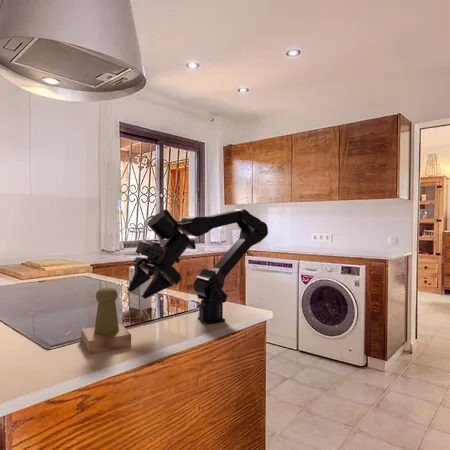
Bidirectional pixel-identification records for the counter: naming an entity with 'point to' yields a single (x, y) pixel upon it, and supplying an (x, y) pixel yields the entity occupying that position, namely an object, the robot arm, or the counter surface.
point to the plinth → (105, 340)
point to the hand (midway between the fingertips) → (135, 294)
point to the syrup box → (139, 294)
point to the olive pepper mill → (106, 312)
